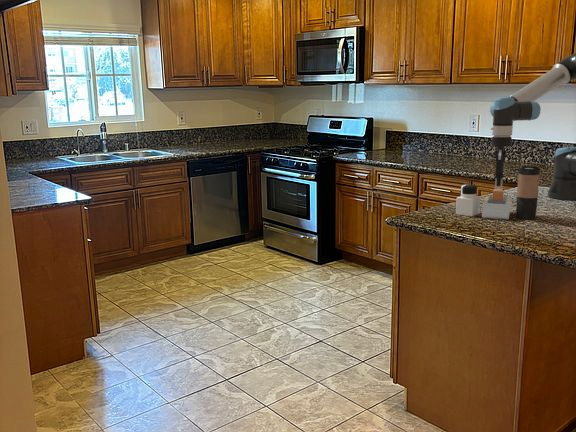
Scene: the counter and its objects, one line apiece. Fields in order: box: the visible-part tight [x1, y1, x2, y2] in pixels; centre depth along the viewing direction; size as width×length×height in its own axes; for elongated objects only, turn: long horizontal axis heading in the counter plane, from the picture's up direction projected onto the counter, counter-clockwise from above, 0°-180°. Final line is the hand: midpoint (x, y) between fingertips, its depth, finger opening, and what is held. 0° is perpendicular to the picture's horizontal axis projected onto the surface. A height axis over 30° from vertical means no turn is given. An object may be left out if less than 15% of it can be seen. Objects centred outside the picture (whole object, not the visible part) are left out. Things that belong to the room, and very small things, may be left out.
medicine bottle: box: [455, 184, 481, 217], centre depth 231 cm, size 7×7×12 cm
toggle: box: [492, 188, 505, 200], centre depth 230 cm, size 4×3×4 cm
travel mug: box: [515, 165, 540, 221], centre depth 221 cm, size 8×8×20 cm
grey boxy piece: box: [481, 194, 512, 220], centre depth 229 cm, size 10×14×7 cm
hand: (498, 193), depth 233 cm, fingers closed
